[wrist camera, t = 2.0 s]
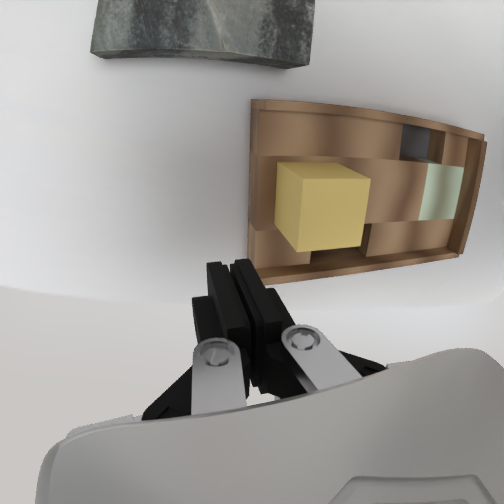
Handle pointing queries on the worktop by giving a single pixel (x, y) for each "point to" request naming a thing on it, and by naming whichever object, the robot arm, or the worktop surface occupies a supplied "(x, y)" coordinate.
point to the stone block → (206, 30)
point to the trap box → (381, 186)
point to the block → (320, 205)
